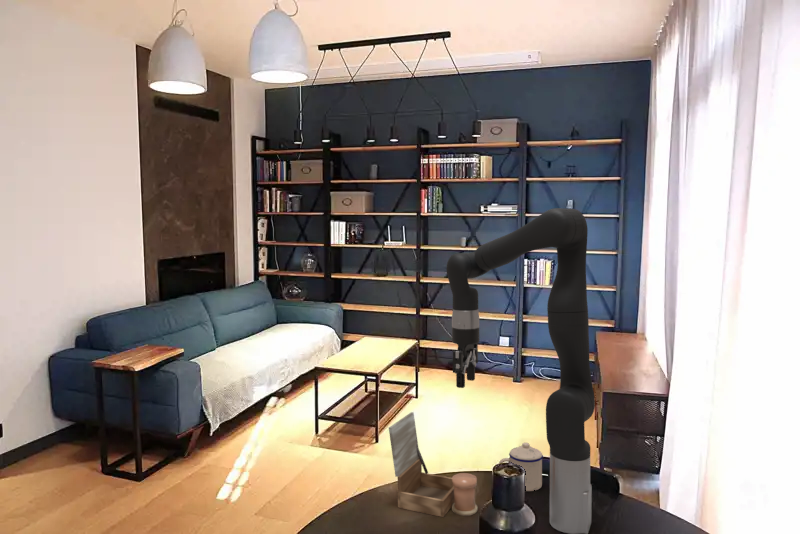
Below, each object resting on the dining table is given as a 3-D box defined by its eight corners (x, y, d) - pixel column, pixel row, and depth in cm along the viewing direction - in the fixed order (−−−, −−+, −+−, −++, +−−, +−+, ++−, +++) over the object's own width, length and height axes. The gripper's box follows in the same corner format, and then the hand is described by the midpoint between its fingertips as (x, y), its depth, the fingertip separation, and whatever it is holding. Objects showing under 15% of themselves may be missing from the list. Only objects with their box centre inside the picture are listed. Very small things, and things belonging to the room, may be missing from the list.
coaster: (480, 506, 148) (480, 503, 148) (472, 517, 143) (472, 514, 143) (457, 501, 151) (457, 498, 151) (448, 512, 145) (448, 509, 145)
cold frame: (461, 494, 156) (461, 418, 154) (443, 517, 143) (442, 435, 142) (411, 484, 162) (410, 411, 161) (389, 505, 150) (388, 427, 148)
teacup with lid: (540, 478, 165) (540, 438, 164) (545, 492, 156) (545, 450, 155) (497, 477, 166) (497, 437, 165) (499, 491, 157) (499, 449, 156)
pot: (480, 503, 148) (480, 475, 148) (472, 514, 143) (472, 485, 142) (457, 498, 151) (457, 471, 151) (448, 509, 146) (448, 480, 145)
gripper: (470, 330, 152) (470, 391, 153) (486, 322, 165) (486, 379, 166) (443, 328, 155) (443, 388, 156) (461, 321, 168) (461, 376, 169)
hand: (465, 383), depth 161 cm, fingers open, 8 cm apart
